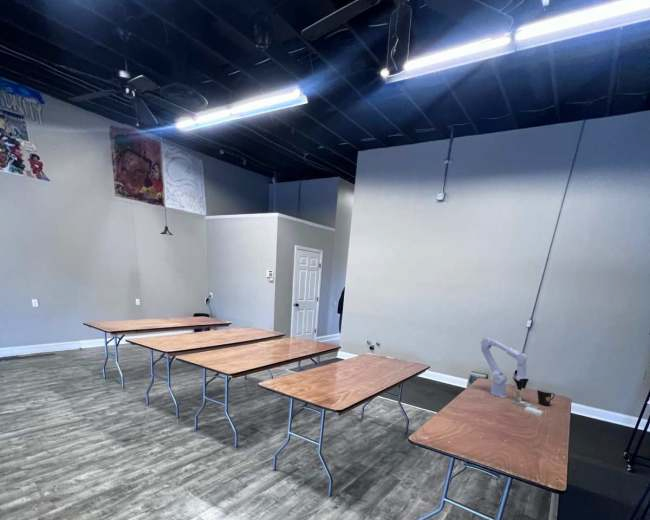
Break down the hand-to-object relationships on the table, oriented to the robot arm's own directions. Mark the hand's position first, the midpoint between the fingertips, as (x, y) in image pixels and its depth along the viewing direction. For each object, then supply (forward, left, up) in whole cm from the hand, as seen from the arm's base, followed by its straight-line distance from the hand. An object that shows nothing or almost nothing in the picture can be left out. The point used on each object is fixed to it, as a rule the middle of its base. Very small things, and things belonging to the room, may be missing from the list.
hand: (521, 388), depth 220 cm
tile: (+8, -15, -9) cm, 19 cm away
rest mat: (+4, -5, -9) cm, 11 cm away
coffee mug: (+13, +11, -10) cm, 20 cm away
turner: (+2, -5, -9) cm, 10 cm away
